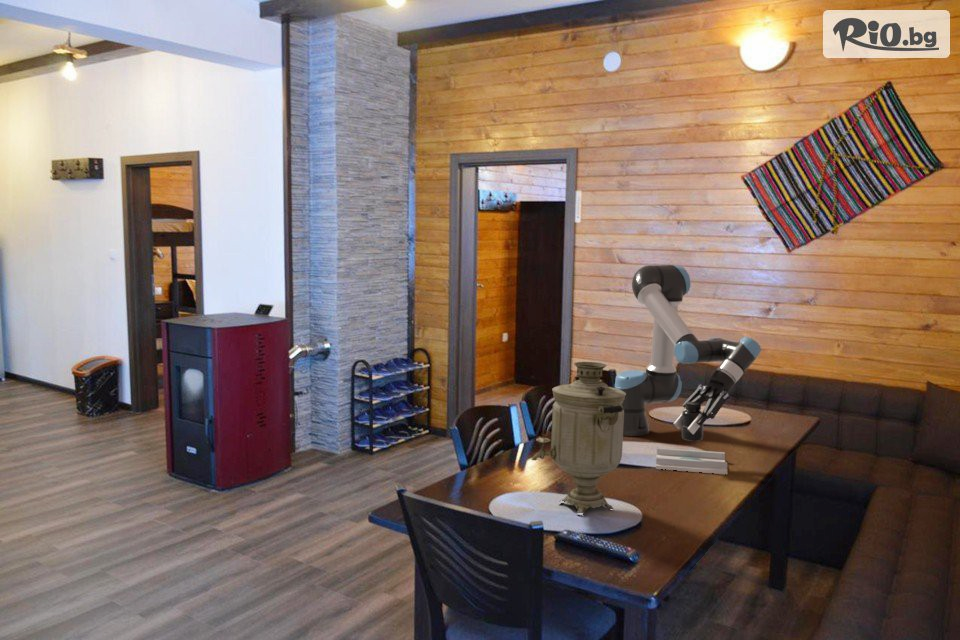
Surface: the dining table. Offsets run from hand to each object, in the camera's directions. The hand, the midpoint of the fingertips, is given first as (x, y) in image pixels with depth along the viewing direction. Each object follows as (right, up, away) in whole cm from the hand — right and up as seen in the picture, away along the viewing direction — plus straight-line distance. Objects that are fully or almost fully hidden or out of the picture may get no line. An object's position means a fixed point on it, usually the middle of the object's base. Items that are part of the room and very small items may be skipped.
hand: (683, 428), depth 241 cm
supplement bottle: (+3, -4, +2) cm, 5 cm away
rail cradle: (+3, -12, +3) cm, 13 cm away
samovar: (-40, -16, -37) cm, 57 cm away
